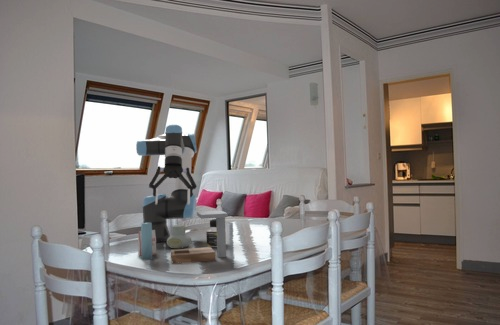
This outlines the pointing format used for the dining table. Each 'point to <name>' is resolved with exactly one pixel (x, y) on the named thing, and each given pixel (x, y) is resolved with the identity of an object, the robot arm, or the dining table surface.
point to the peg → (146, 240)
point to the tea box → (141, 243)
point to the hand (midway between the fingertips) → (172, 204)
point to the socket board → (192, 255)
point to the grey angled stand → (220, 228)
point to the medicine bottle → (213, 234)
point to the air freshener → (178, 237)
